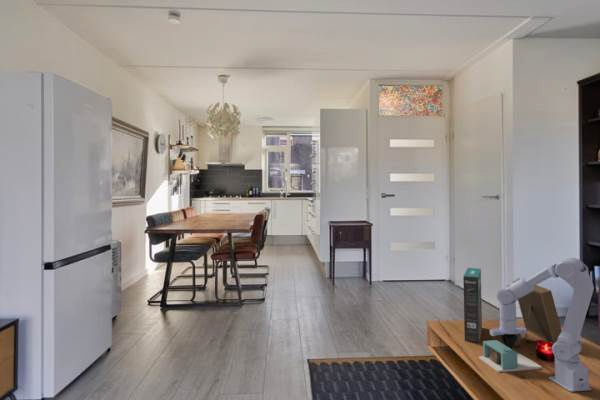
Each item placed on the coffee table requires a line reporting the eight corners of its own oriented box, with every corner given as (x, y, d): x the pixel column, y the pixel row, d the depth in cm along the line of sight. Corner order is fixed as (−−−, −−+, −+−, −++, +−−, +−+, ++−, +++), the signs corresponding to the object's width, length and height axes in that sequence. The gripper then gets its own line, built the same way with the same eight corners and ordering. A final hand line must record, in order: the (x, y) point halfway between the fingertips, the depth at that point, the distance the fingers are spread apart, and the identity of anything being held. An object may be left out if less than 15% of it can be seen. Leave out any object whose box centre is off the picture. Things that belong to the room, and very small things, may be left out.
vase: (524, 348, 156) (523, 328, 156) (506, 347, 157) (506, 327, 157) (517, 342, 163) (517, 323, 163) (501, 341, 164) (501, 322, 164)
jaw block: (506, 363, 141) (506, 351, 141) (496, 364, 140) (496, 351, 140) (499, 359, 145) (499, 346, 145) (490, 359, 144) (490, 347, 144)
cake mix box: (479, 343, 163) (477, 277, 163) (464, 340, 166) (463, 276, 166) (481, 327, 182) (480, 268, 182) (468, 325, 185) (467, 267, 185)
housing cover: (517, 368, 137) (517, 352, 136) (502, 369, 136) (502, 353, 136) (496, 354, 148) (496, 340, 148) (483, 355, 148) (483, 341, 148)
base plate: (541, 368, 138) (541, 358, 138) (498, 372, 136) (498, 361, 136) (519, 355, 150) (519, 345, 150) (479, 358, 148) (478, 348, 148)
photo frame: (534, 328, 178) (532, 278, 178) (565, 347, 157) (564, 290, 157) (504, 329, 179) (502, 279, 179) (531, 347, 157) (529, 291, 157)
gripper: (517, 314, 147) (518, 347, 147) (484, 316, 146) (485, 349, 146) (530, 319, 140) (531, 354, 140) (496, 322, 139) (496, 357, 139)
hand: (508, 352), depth 143 cm, fingers closed
